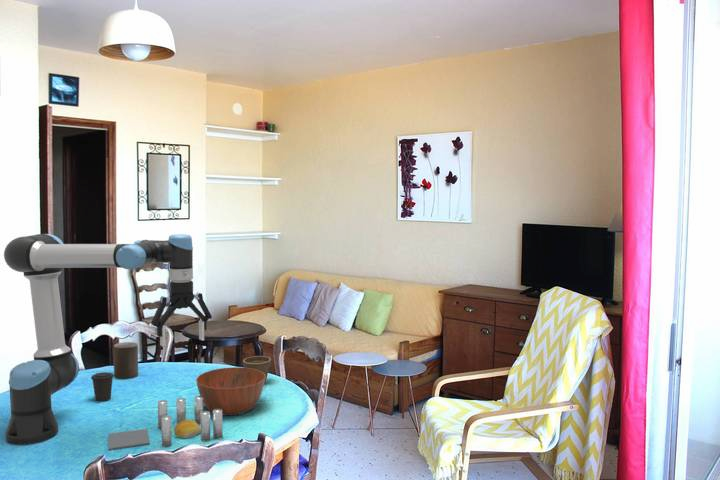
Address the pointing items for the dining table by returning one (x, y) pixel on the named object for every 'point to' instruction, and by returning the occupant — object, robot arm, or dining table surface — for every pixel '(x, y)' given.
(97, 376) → the coffee cup
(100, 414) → the dining table surface
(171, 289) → the robot arm
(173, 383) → the dining table surface
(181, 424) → the bread roll
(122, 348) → the pillar candle
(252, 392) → the bowl
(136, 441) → the slate coaster
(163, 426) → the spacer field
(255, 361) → the flower pot
